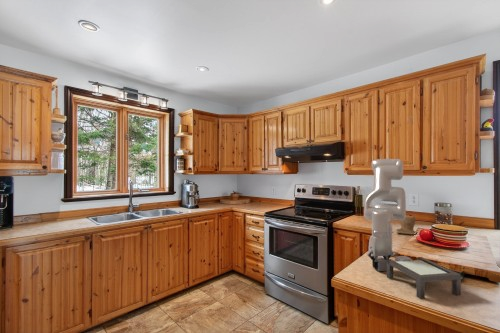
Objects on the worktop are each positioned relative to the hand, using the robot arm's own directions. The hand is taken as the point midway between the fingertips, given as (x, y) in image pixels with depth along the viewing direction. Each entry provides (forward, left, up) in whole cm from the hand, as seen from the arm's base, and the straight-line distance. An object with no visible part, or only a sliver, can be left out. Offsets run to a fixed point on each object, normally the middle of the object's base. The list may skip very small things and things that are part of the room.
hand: (380, 267), depth 125 cm
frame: (+18, +7, -1) cm, 19 cm away
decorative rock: (+8, +32, -2) cm, 33 cm away
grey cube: (0, 0, -1) cm, 1 cm away
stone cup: (-59, +68, -2) cm, 90 cm away
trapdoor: (+15, +7, +6) cm, 18 cm away
